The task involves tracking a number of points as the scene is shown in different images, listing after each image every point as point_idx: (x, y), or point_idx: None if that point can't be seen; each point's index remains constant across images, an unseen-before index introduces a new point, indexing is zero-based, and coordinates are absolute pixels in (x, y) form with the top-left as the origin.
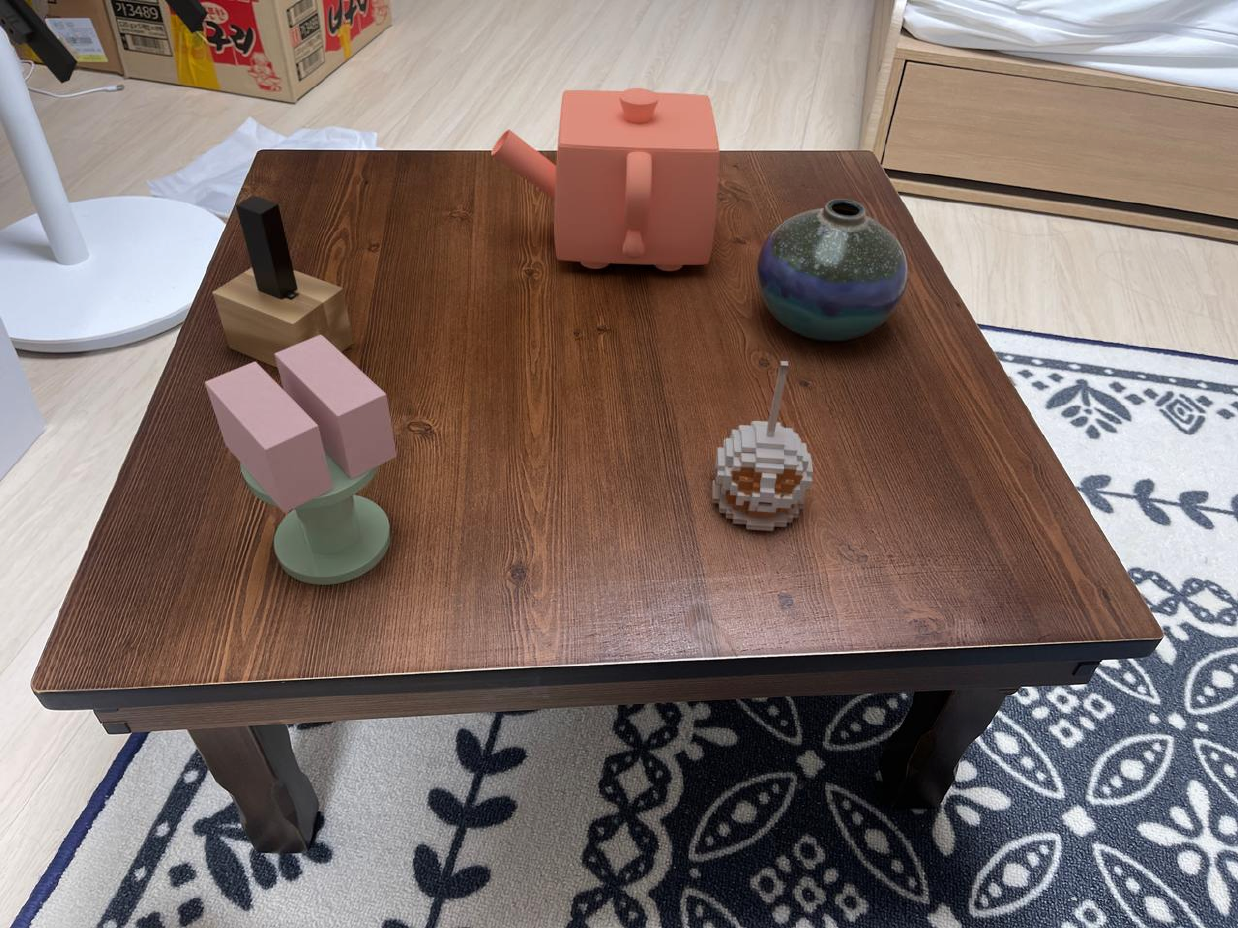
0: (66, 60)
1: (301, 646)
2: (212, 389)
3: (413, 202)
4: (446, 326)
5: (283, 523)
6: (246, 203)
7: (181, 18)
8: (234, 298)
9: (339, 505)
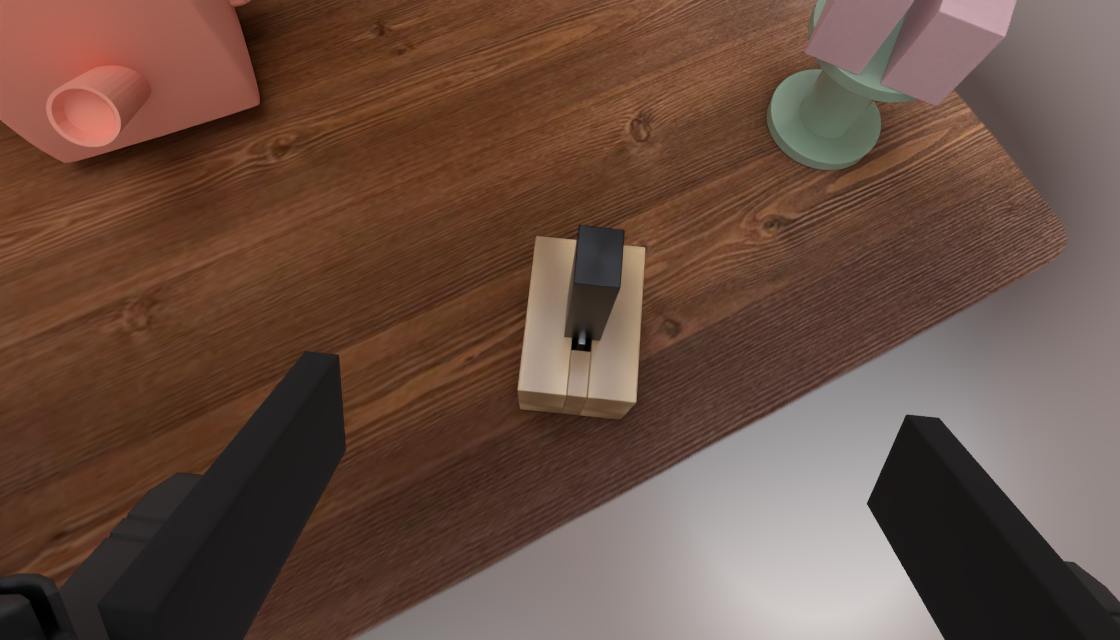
0: (945, 426)
1: None
2: (1009, 21)
3: (115, 409)
4: (449, 190)
5: (841, 160)
6: (606, 272)
7: (324, 481)
8: (633, 359)
9: None
